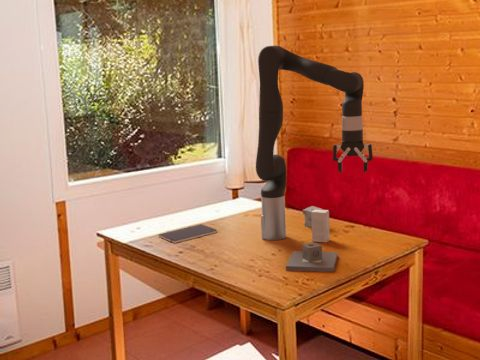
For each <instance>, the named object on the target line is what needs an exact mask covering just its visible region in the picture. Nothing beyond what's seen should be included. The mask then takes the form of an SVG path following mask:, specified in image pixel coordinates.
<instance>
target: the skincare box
mask: <svg viewBox="0 0 480 360" xmlns="http://www.w3.org/2000/svg"><path fill="white" fill-rule="evenodd" d="M311 218H312V227H311V240H312V242H315V243H317V242H318V243H328V242H329V241H330V240H331V237H330V211H329V209H323V210H313V211H312V212H311Z"/></svg>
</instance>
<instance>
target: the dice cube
mask: <svg viewBox="0 0 480 360" xmlns="http://www.w3.org/2000/svg"><path fill="white" fill-rule="evenodd" d="M301 247H302V248H301V251H302V256H303V259H305V260H307V261H309V262H313V261H318V260H322V252H323V245H321V244H319V243H317V242H313V241H312V242H309V243H303V244H301Z"/></svg>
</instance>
